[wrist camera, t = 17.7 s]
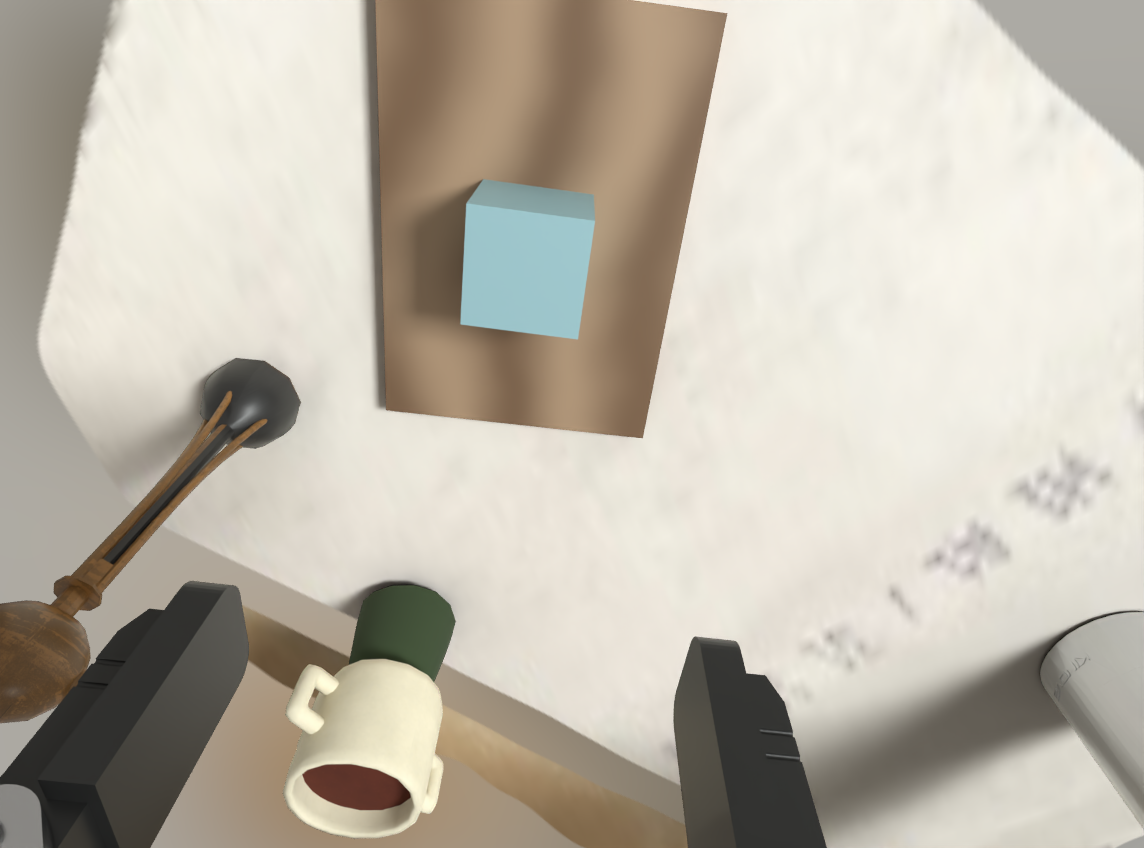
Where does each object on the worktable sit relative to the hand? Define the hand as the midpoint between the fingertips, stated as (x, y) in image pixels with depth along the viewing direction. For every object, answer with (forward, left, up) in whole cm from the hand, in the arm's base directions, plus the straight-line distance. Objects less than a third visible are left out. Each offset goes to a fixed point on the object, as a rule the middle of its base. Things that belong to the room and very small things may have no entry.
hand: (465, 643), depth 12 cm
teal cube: (0, -1, -23) cm, 23 cm away
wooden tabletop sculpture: (+15, +10, -24) cm, 30 cm away
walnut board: (+1, -1, -24) cm, 24 cm away
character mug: (+7, +25, -24) cm, 36 cm away
